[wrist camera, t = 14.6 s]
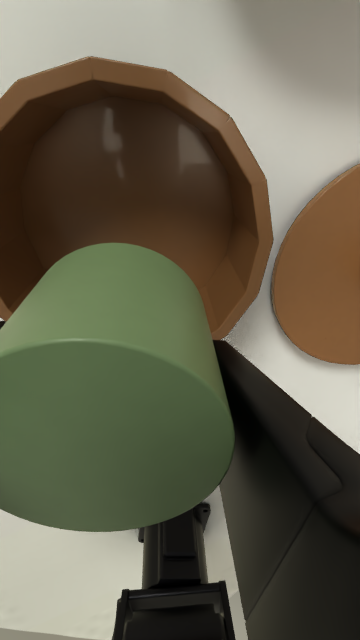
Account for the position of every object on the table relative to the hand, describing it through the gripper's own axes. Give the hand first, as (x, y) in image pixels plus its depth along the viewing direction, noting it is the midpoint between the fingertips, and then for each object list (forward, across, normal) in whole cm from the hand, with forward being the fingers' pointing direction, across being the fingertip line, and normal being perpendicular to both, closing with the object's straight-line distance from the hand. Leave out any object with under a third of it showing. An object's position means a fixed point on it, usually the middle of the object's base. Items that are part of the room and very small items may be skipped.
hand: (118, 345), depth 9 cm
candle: (+1, 0, 0) cm, 1 cm away
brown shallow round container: (+11, +1, -1) cm, 11 cm away
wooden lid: (+10, -14, 0) cm, 18 cm away
